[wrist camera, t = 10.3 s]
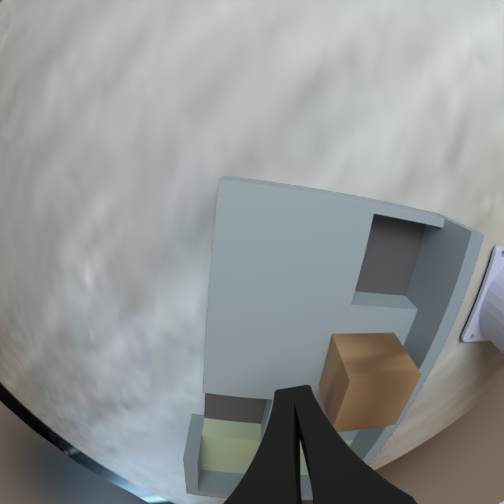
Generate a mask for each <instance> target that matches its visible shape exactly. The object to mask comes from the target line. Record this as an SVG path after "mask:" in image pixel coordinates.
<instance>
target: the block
mask: <svg viewBox="0 0 504 504" xmlns="http://www.w3.org/2000/svg"><path fill="white" fill-rule="evenodd" d="M420 377H421V373H420V371H419V370H418V368H417V367H416V365H415V363H414V362H413V360H412V359H411V357H410V356H409V354H408V353H407V351H406V350H405V348H404V347H403V345H402V344H401V342H400V341H399V339H398V338H397V336H396V335H395V333H394V332H390V333H348V334H332V335H331V340H330V344H329V348H328V352H327V356H326V360H325V364H324V368H323V371H322V375H321V379H320V382H319V387H320V391H321V395H322V399H323V404H324V408H325V412H326V416H327V419H328V420H329V422H330V423H331V425H332V426H333V427H334V429H335V430H336V431H337V432H344V431H354V430H363V429H371V428H378V427H385V426H391V425H395V424H396V422H397V421H398V419H399V417H400V415H401V414H402V412H403V410H404V408H405V406H406V404H407V403H408V401H409V399H410V397H411V395H412V393H413V391H414V389H415V387H416V385H417V383H418V381H419V379H420Z"/></svg>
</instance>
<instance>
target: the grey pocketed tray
mask: <svg viewBox="0 0 504 504" xmlns="http://www.w3.org/2000/svg"><path fill="white" fill-rule="evenodd" d="M483 237H484V234H482V233H480V232H477V231H475V230H473V229H471V228H469V227H467V226H465V225H463V224H460V223H458V222H456V221H454V220H452V219H449V218H447V217H445V216H443V215H440V214H437V213H433V212H429V211H425V210H420V209H416V208H412V207H407V206H403V205H398V204H394V203H389V202H384V201H379V200H375V199H370V198H364V197H359V196H354V195H349V194H343V193H338V192H332V191H326V190H320V189H314V188H308V187H302V186H295V185H289V184H282V183H275V182H268V181H260V180H252V179H244V178H236V177H227V176H223V177H222V178H221V179H220V180H219V187H218V196H217V206H216V216H215V226H214V236H213V247H212V259H211V271H210V283H209V296H208V310H207V325H206V342H205V360H204V380H203V393H205V416H201V415H194V414H192V418H191V423H190V428H189V433H188V438H187V443H186V448H185V453H184V458H183V460H184V471H185V482H186V491H187V493H188V494H194V495H201V496H209V497H217V498H227V499H228V497H229V496H230V495H231V494H232V492H233V491H234V490H235V488H236V487H237V485H238V484H239V482H240V481H241V479H242V478H243V476H244V474H245V473H246V471H247V470H248V468H249V466H250V464H251V462H252V460H253V458H254V456H255V454H256V452H257V450H258V448H259V445H260V443H261V441H262V438H263V436H264V433H265V430H266V427H267V424H268V421H269V418H270V414H271V410H272V406H273V400H274V392H275V391H276V390H277V389H284V388H290V387H296V386H302V385H310V386H311V389H312V391H313V394H314V396H315V398H316V400H317V402H318V404H319V406H320V408H321V409H322V411H323V413H324V414H325V416H326V412H325V408H324V404H323V399H322V395H321V391H320V387H319V382H320V379H321V375H322V371H323V368H324V364H325V360H326V356H327V352H328V348H329V344H330V340H331V335H332V334H348V333H390V332H394V333H395V335H396V336H397V338H398V339H399V341H400V342H401V344H402V345H403V347H404V348H405V350H406V351H407V353H408V354H409V356H410V357H411V359H412V360H413V362H414V363H415V365H416V367H417V368H418V370H419V371H420V373H421V377H420V379H419V381H418V383H417V385H416V387H415V389H414V391H413V393H412V395H411V397H410V399H409V401H408V403H407V404H406V406H405V408H404V410H403V412H402V414H401V415H400V417H399V419H398V421H397V422H396V424H395V425H391V426H385V427H378V428H371V429H363V430H354V431H344V432H337V433H338V434H339V435H340V436H341V438H342V439H343V440H344V441H345V443H346V444H347V445H348V446H349V447H350V448H351V449H352V450H353V451H354V452H355V453H356V455H357V456H359V457H360V458H361V459H362V460H363V461H364V462H365V463H366V464H367V465H368V466H369V464H370V463H371V462H372V461H373V459H374V458H375V457H376V456H377V454H378V453H379V452H380V450H381V449H382V448H383V446H384V445H385V443H386V442H387V441H388V439H389V438H390V437H391V435H392V434H393V432H394V431H395V429H396V428H397V426H398V425H399V423H400V422H401V420H402V419H403V417H404V416H405V414H406V413H407V411H408V410H409V408H410V406H411V405H412V403H413V402H414V400H415V398H416V397H417V395H418V393H419V391H420V390H421V388H422V386H423V384H424V383H425V381H426V379H427V377H428V375H429V374H430V372H431V370H432V368H433V366H434V364H435V362H436V360H437V358H438V356H439V354H440V352H441V350H442V348H443V346H444V344H445V342H446V340H447V338H448V335H449V333H450V331H451V329H452V326H453V324H454V322H455V319H456V317H457V315H458V312H459V310H460V307H461V305H462V302H463V299H464V297H465V294H466V291H467V289H468V286H469V283H470V280H471V277H472V274H473V271H474V268H475V265H476V262H477V258H478V255H479V252H480V248H481V245H482V241H483ZM326 417H327V416H326ZM300 476H301V497H302V500H313V495H312V488H311V483H310V478H309V474H308V470H307V466H306V462H305V458H304V454H303V449H302V445H301V441H300Z"/></svg>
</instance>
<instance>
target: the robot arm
mask: <svg viewBox="0 0 504 504" xmlns="http://www.w3.org/2000/svg"><path fill="white" fill-rule="evenodd" d="M501 253H502V254H501ZM461 339H462V341H463V342H477V341H491V342H492V343H493V344H494V345H495V346H496V347H497V348H498V349H499V350H500V351H501V352H502V354H503V355H504V246H501V245H497V246H495V248H494V250H493V253H492V256H491V259H490V263H489V266H488V269H487V272H486V275H485V278H484V281H483V284H482V287H481V289H480V292H479V295H478V297H477V300H476V303H475V305H474V308H473V310H472V312H471V315H470V317H469V320H468V322H467V324H466V326H465V329H464V331H463V333H462V336H461ZM300 441H301V445H302V449H303V454H304V458H305V462H306V466H307V470H308V474H309V478H310V483H311V488H312V495H313V503H314V504H417V503H416V501H415V500H414V499H413V497H412V496H410V495H408V494H407V493H405V492H403V491H402V490H400V489H398V488H397V487H395V486H394V485H392V484H391V483H389V482H388V481H387V480H385V479H384V478H383V477H381V476H380V475H379V474H378V473H377V472H375V471H374V470H373V469H372V468H371V467H369V466H368V465H367V464H366V463H365V462H364V461H363V460H362V459H361V458H360V457H359V456H357V455H356V453H355V452H354V451H353V450H352V449H351V448H350V447H349V446H348V445H347V444H346V443H345V441H344V440H343V439H342V438H341V436H340V435H339V434H338V433H337V431H336V430H335V429H334V427H333V426H332V425H331V423H330V422H329V420H328V419H327V417H326V416H325V414H324V413H323V411H322V409H321V408H320V406H319V404H318V402H317V400H316V398H315V396H314V394H313V391H312V389H311V386H310V385H302V386H296V387H290V388H284V389H277V390H276V391H275V392H274V400H273V406H272V410H271V414H270V418H269V421H268V424H267V427H266V430H265V433H264V436H263V438H262V441H261V443H260V445H259V448H258V450H257V452H256V454H255V456H254V458H253V460H252V462H251V464H250V466H249V468H248V470H247V471H246V473H245V474H244V476H243V478H242V479H241V481H240V482H239V484H238V485H237V487H236V488H235V490H234V491H233V492H232V494H231V495H230V496H229V497H228V499H227V500H226V501H225V502H224V504H302V497H301V476H300ZM499 504H504V501H502V502H501V503H499Z"/></svg>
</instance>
